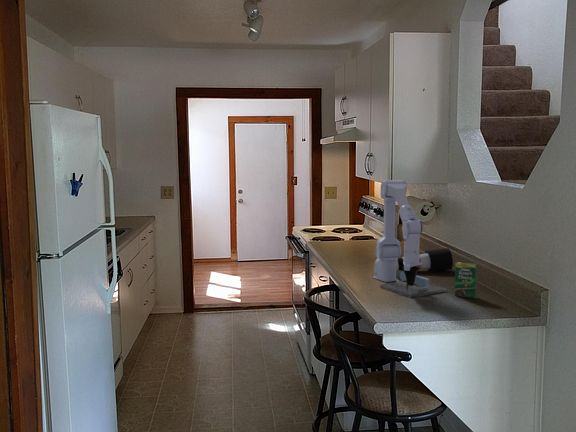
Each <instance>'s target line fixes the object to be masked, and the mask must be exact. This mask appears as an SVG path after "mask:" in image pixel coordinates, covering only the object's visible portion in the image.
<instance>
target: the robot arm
mask: <svg viewBox="0 0 576 432" xmlns="http://www.w3.org/2000/svg"><path fill="white" fill-rule="evenodd" d="M407 192H408V182H407V181H406V180H405V179H393V180H392V179H390V180H389V179H383V180H382V182H380V199H383V234H382V235H383V236H382V237H380V238H379V239H378V240H377V241H376V247H375V256H376V260H375V261H374V271H373V272H374V276H372V279H375V280H376V279H377V280H378V281H379V280H380V281H382V282H385V283H391V282H397V278H396V260H398V258H401V255H402V248H401V241H400V240H399V239H397V238H396V237H395V236H396V203H397V205H398V207H399V209H398V214H399V217H400V219H401V223H402V226H401V229H402V238H403V239H404V242H403V244H404V245H403V257H404V261H403V264H404V267H403V271H404V273H405V276H406V280H407V285H409V286H413V285H414V282H415V278H416V275H418V271H420V270H419V267H418V266H417V265H422V262H419V255H420V244H421V243H420V241H421V239H420V237H421V235H422V233H423V229H424V225H423V221H422V220H421V218H419V217H417V215H416V212H415V210H414V208H413V206H412V205H410V204H409V201H408V197H407Z"/></svg>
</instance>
